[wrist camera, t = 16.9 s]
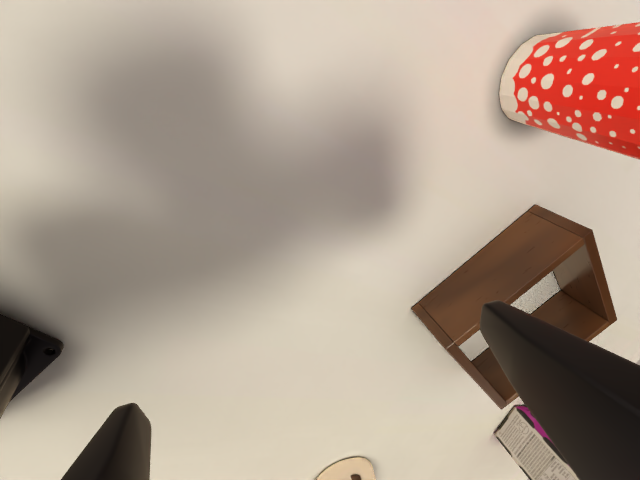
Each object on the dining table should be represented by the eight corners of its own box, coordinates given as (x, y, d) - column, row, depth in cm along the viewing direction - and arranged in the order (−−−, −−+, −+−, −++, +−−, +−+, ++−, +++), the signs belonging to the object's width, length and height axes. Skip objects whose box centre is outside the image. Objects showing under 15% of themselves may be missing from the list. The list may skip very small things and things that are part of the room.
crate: (467, 370, 32) (501, 410, 28) (410, 308, 26) (445, 349, 22) (568, 288, 31) (617, 319, 27) (535, 204, 25) (592, 229, 21)
